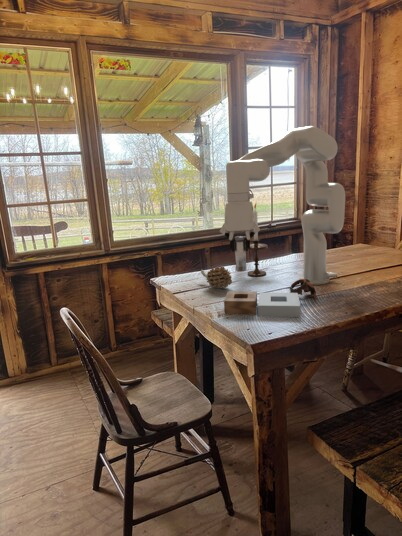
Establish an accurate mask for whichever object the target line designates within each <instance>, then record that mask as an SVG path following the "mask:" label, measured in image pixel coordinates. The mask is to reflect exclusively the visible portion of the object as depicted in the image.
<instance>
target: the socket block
mask: <svg viewBox="0 0 402 536" xmlns="http://www.w3.org/2000/svg"><path fill="white" fill-rule="evenodd" d="M258 296H259V297H258V302H257V311H258V312H257V313H258V314H257V315H258V317H266V318H267V317H268V318H270V317H272V318H274V317H276V318H277V317H279V318H301V303H300V299H299V295H298V293H290V292H259V295H258Z"/></svg>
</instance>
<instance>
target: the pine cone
mask: <svg viewBox="0 0 402 536" xmlns="http://www.w3.org/2000/svg"><path fill="white" fill-rule="evenodd" d="M200 272H201V275H202V276H203V277H205V279H206V283H208V284H209V286H210V287H211V288H213V287H214V288H215V289H218V288H219V289H223V288H225V289H226V288H227V287H229V286H230V285H231V284H232V283H233V280H232V275H231V274H232V272H230V270H229V268H227V269H226V268H225V266H220V267H219V266H216V267H215V268H212V269H210V270H209V271H207V274H206V272H205V270H203V269H201V270H200Z"/></svg>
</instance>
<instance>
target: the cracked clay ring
mask: <svg viewBox="0 0 402 536" xmlns="http://www.w3.org/2000/svg"><path fill="white" fill-rule="evenodd" d="M298 285H300V286H299V287H297V286H298ZM295 287H296V288H295ZM288 289H289V291H290V292H289V293H298V296H299V295H301V296H303V292H304V293H309V292H310V295H311V296H313V297H314V300H317V298H318V296H317V292H316V289H315V286H314V285H312V284H311V283H310V281H309V280H308V279H300V278H299V279H297V280H296V281H294V282H293V283H291V285H290V286H289V288H288Z"/></svg>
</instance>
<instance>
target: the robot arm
mask: <svg viewBox="0 0 402 536" xmlns="http://www.w3.org/2000/svg"><path fill="white" fill-rule="evenodd" d="M338 148H339V147H338V143H337V141H336V139H335V138H334V137H333V136H332V135H330V134H328V133H327V132H325V131H324V130H322V129H320V128H319V127H317V126H315V125H308V126H303V127H297V128H292V129H290V130H289V129H288V131H286V132H285V133H283V134H281V136H279V137H278V138H276V139H275V140H273V141H272V142H270V143H268V144H266V145H263V146H260V147H259V148H257V149H255V150H253V151H251V152H248V153H245V155H243V156H242V157H240V158H239V159H237V160H233V161H232V160H231V161H228V162H227V163H226V165H225V173H226V175H225V177H226V193H227V194H226V201H227V202H225V207H224V223H223V224H222V226H221V228H220V229H219V233H220V234H222V235H224V236H225V237H226V238H227V239H228V240H229V247H230V248H229V249H231V252H234V253H235V241H234V237H235V236H234V234H235V233H237V232H244V233H245V237H246V240H245V245H246V249H245V252H248V251H249V250H248V248H250V244H251V240H252V238H254V234H256V233H257V232H258V233H259V232H260V231H261V229H260V227H259V226H257V224H256V223H255V222H254V206H253V202H252V201H250V200H251V199H254V198H255V197H254V196H255V194H254V193H250V183H257V182H258V183H259V182H263V181H264V180H266V179H267V178H268V177H269V175H270V173H271V168H273V167H276V166H279V165H283V164H284V163H286V161H288V160H289V159H290V158H291V157H293V156H294V155H295V156H296V158H297V159H298V161H299V162H300V163H301V165H302V166H303V167H304V170H305V176H306V180H305V181H306V184H305V186H306V187H305V200H306V203H307V204H308V205H309V206H313V207H325V208H326V207H328V208H327V209H317V208H316V209H313V208H312V209H309V210H305V211H304V212H303V214H302V216H301V220H300V221H301V223H300V224H301V227H302V235H303V276H300V278H299V280H300V279H308V280H309V281H310V283H311V284H312V285H313V286H314V285H315V286H318V285H325V284H328V283H330V278H335V279H336V278H338V272H333V271H331V272H328V270H327V245H328V244H327V239H326V237H325V235H324V234H339V233H340V232H341V231H342V230H343V227H344V223H345V211H346V209H345V208H346V191H345V188H344V186H343V185H342V184H341V183H338V182H329V179H328V178H329V176H328V175H329V172H328V168H327V166H326V164H325V162H326V161H331V160H332V159H334V158H335V157H336V155H337V153H338ZM254 228H255V230H254Z"/></svg>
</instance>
